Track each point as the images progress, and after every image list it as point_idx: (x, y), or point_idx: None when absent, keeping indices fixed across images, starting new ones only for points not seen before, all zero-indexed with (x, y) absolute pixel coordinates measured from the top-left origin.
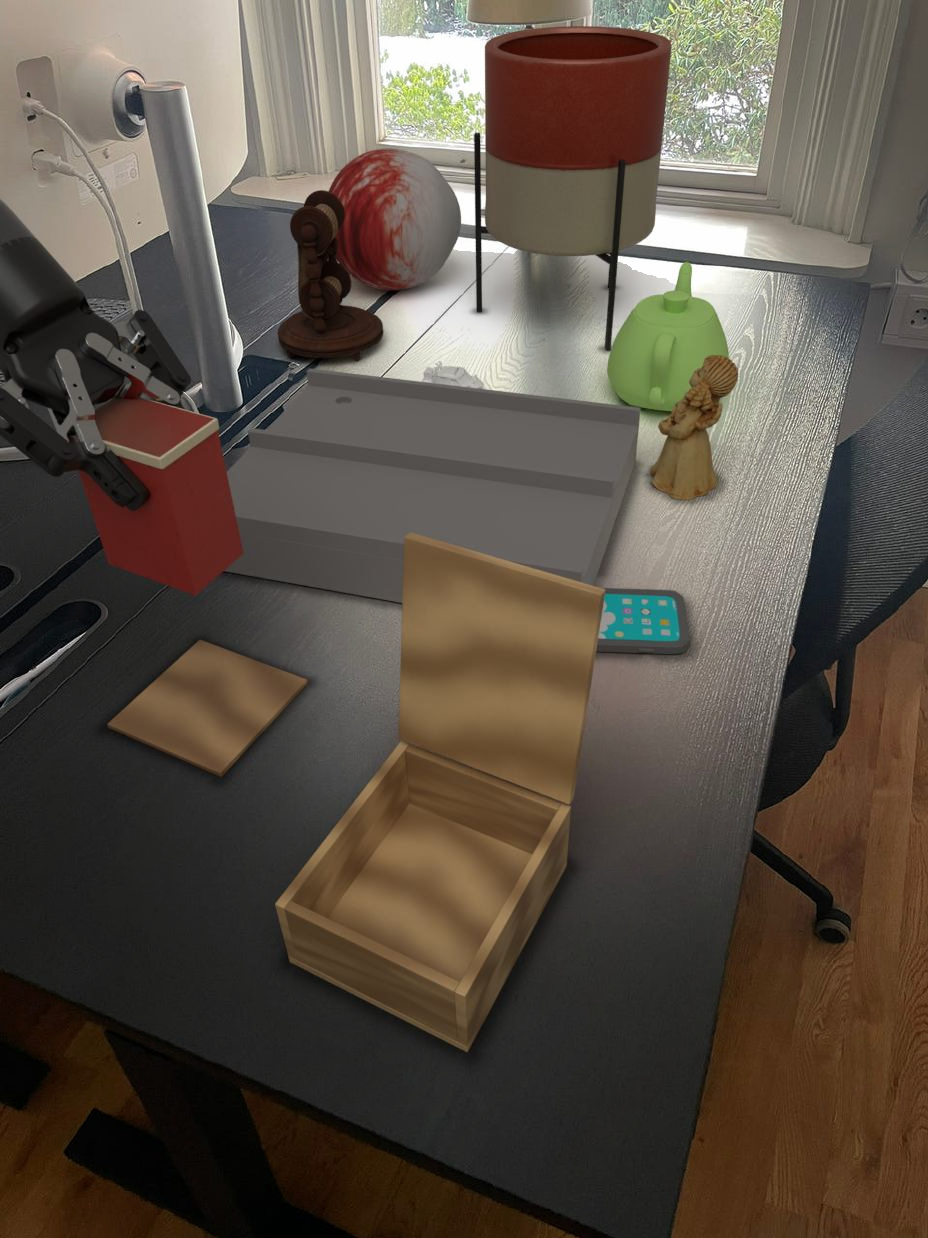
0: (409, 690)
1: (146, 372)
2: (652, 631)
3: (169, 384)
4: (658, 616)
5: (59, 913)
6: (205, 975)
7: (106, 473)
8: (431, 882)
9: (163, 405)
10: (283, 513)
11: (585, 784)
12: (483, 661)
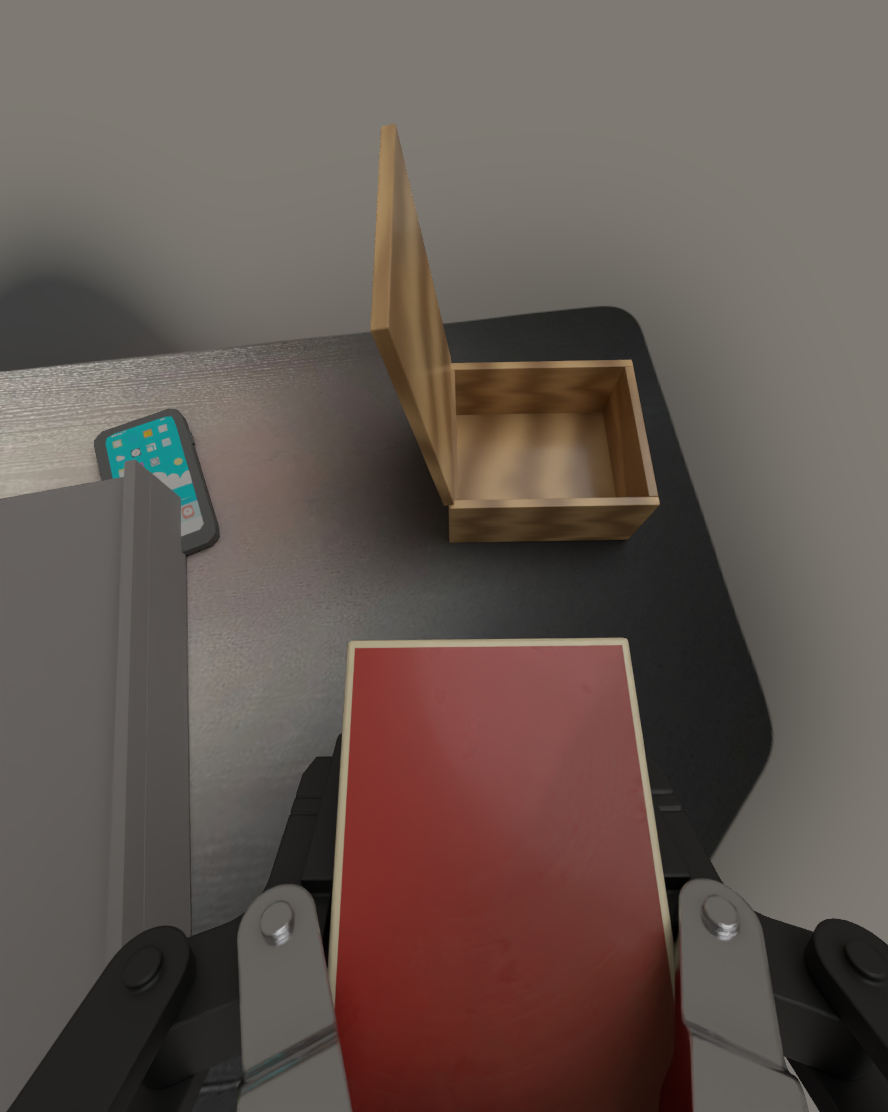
0: (442, 461)
1: (272, 1089)
2: (164, 438)
3: (204, 1003)
4: (140, 440)
5: (719, 746)
6: (675, 588)
7: (690, 837)
8: (516, 480)
9: (346, 904)
10: (67, 953)
11: (366, 430)
12: (427, 343)
